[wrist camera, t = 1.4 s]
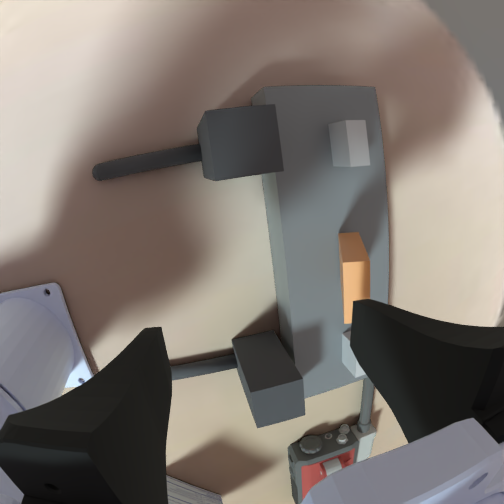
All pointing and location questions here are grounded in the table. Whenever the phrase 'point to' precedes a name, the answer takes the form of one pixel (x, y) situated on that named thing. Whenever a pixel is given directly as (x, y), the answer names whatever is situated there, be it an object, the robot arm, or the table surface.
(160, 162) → the plug
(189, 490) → the medicine box
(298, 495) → the walkie-talkie
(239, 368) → the plug
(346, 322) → the orange rectangular block
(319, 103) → the power strip
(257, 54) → the table surface
